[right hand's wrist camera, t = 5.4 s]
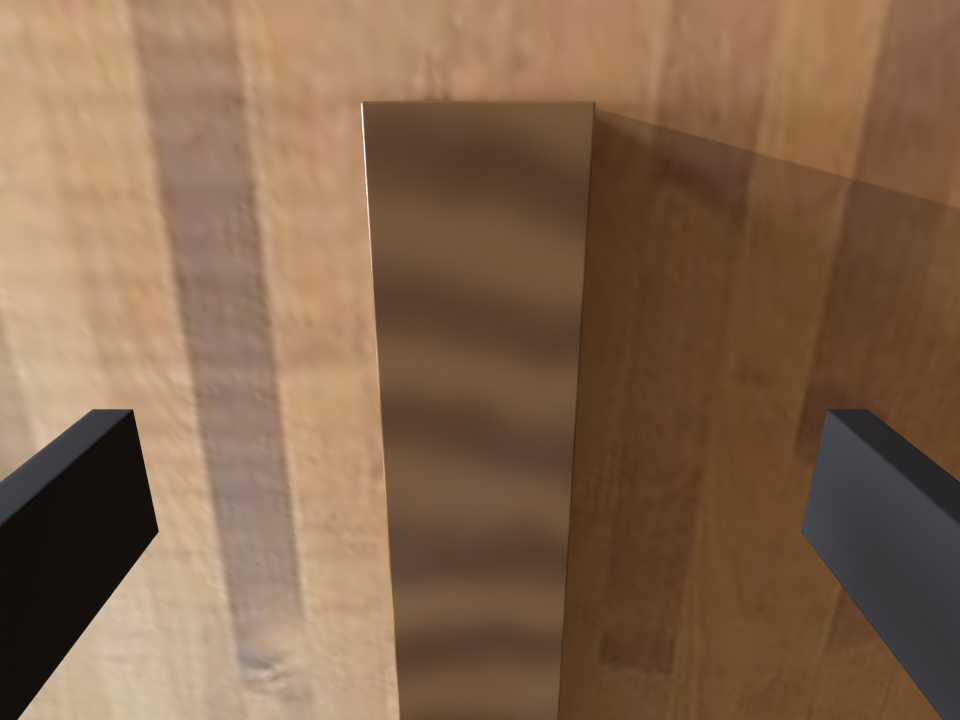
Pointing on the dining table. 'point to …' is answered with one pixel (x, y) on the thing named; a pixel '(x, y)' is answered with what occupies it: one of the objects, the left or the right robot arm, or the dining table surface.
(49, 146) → the dining table surface
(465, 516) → the wooden beam
